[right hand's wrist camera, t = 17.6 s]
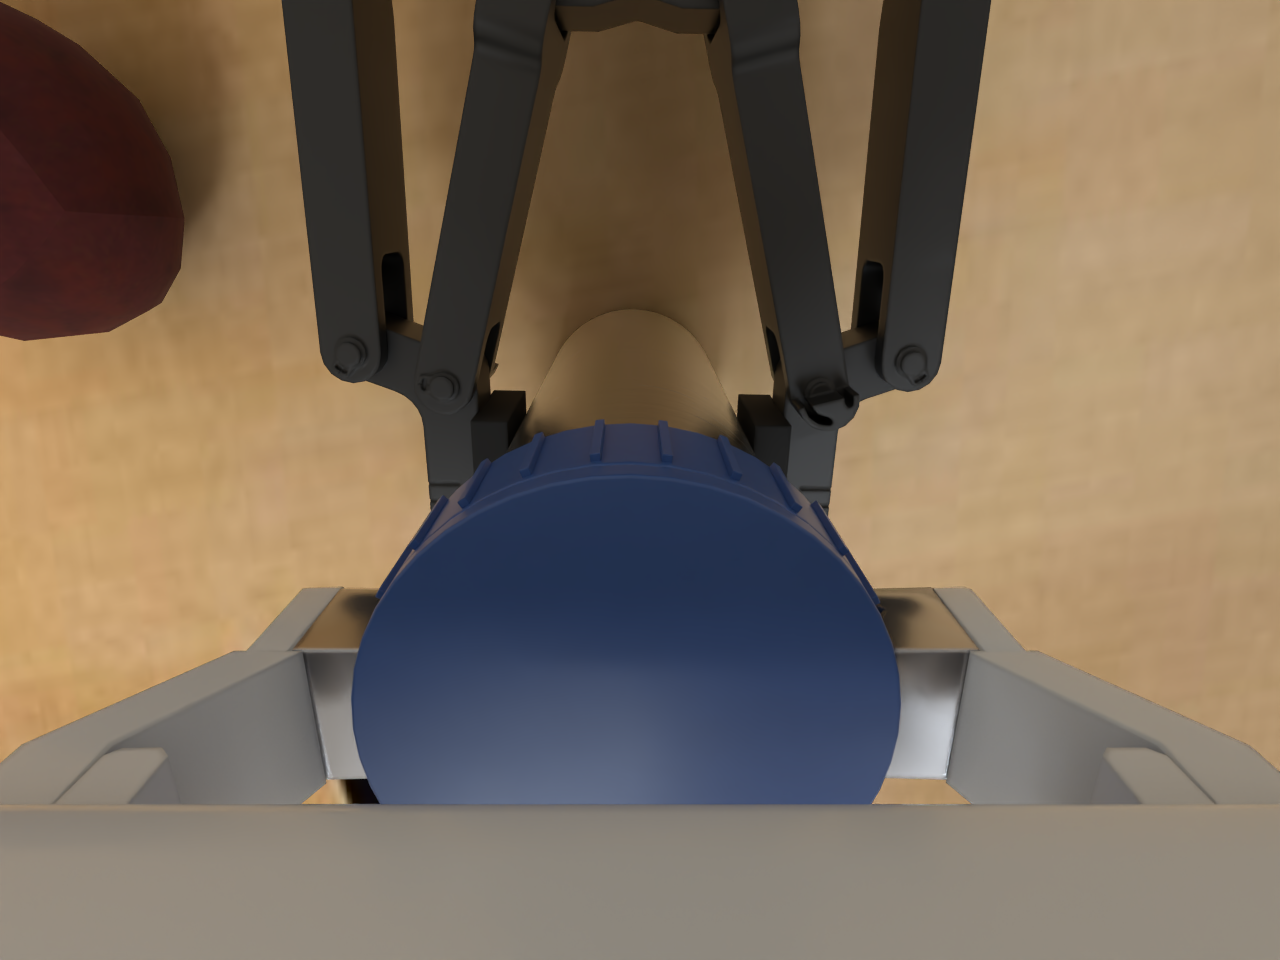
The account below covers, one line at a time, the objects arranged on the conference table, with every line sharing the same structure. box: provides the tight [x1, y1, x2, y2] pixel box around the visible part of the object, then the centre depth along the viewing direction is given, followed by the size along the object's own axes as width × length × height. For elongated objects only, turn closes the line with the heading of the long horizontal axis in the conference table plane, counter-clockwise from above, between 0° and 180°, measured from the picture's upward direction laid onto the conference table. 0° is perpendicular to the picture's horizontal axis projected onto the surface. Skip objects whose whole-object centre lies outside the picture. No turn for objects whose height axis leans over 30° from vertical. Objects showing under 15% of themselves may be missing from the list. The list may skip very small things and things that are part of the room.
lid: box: [351, 419, 901, 804], centre depth 9 cm, size 6×6×2 cm
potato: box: [0, 2, 184, 341], centre depth 17 cm, size 7×8×7 cm
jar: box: [506, 309, 756, 457], centre depth 16 cm, size 5×5×15 cm
